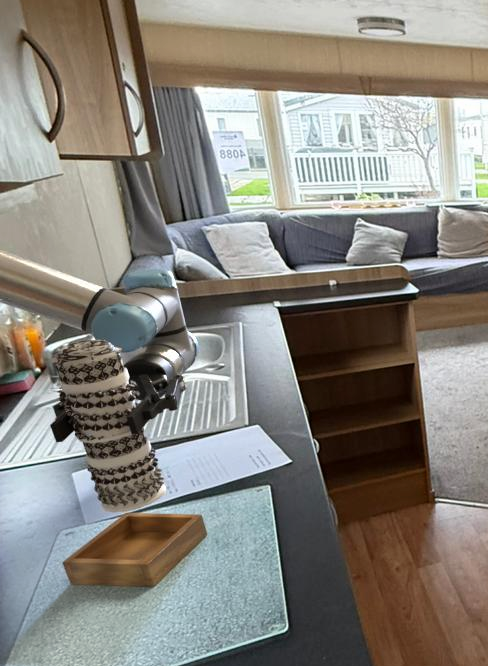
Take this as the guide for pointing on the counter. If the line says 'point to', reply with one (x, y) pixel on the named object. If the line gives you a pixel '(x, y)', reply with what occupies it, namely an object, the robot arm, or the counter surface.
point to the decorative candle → (108, 425)
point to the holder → (136, 550)
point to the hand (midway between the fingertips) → (94, 429)
